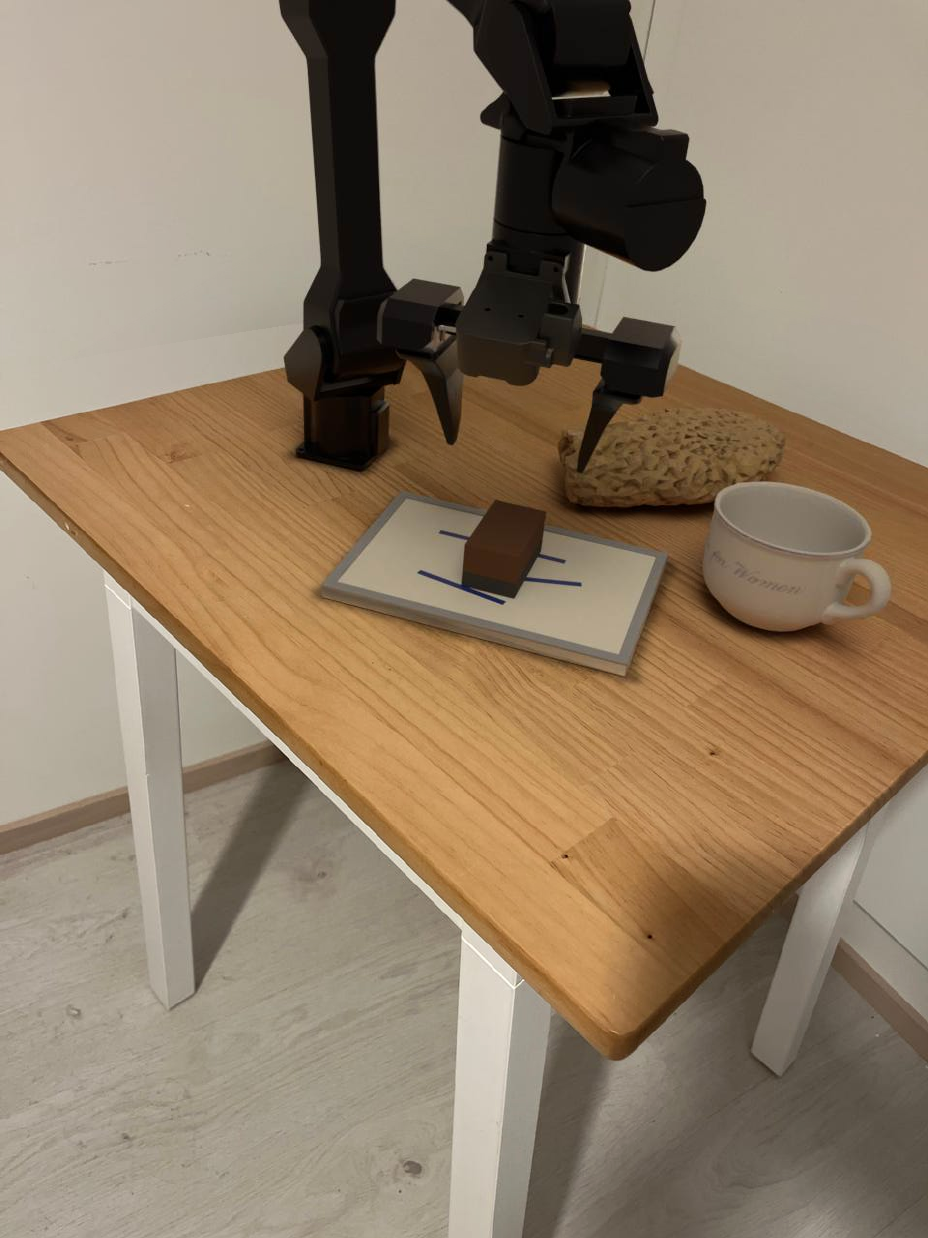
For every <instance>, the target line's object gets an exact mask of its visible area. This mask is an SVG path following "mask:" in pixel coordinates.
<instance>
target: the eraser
mask: <svg viewBox="0 0 928 1238" xmlns="http://www.w3.org/2000/svg"><path fill="white" fill-rule="evenodd" d="M486 511H487V512H486V514H485V515H484V517H483V518H482V520H481V521H480V523H479V524H478V525H477V527H476V528H475V530H474V531H473V533H472V534H471V536H470V537H469V539H468V540H467V542H466V543H465V546H464V558H463V572H462V583H461V585H462V586H466V587H470V588H474V589H478V590H482V591H486V592H490V593H494V594H498V595H502V596H506V597H510V598H515V597H516V595H517V593H518V591H519V589H520V588H521V586H522V584H523V582H524V581H525V579H526V577H527V575H528V573H529V572H530V570H531V568H532V566H533V565H534V563H535V561H536V559H537V557H538V556H539V554H540V552H541V548H542V541H543V534H544V526H545V524H546V518H547V511H546V510H543V509H539V508H535V507H534V508H533V507H529V506H526V505H522V504H521V505H520V504H518V503H517V504H516V503H512V502H507V501H503V500H500V499H494V500H493V502H492V504H491V505H490V506H489V508H488V509H487V510H486Z"/></svg>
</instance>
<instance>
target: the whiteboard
mask: <svg viewBox="0 0 928 1238" xmlns="http://www.w3.org/2000/svg"><path fill="white" fill-rule="evenodd" d="M487 511H488V510H486V509H481V508H476V507H472V506H468V505H465V504H459V503H456V502H452V501H448V500H443V499H439V498H434V497H430V496H426V495H422V494H417V493H413V492H408V491H404V490H400V491H399V492H398V494H397V495H396V496H395V497H394V498H393V499H392V500H391V502H390V503H389V504H388V505H387V507H386V508H384V510H383V511H382V512H381V514H380V515H379V516H378V517H377V518H376V520H375V521H374V522H373V523H372V524H371V525H370V527H368V529H367V530H366V531H365V533H364V534H363V535H362V536H361V537H360V538H359V539H358V540H357V542H356V543H355V544H354V545H353V546H352V547H351V549H350V550H349V551H348V553H346V554H345V556H344V557H343V558H342V559H341V560H340V562H339V563H338V564H337V565H336V566H335V567H334V569H333V570H332V571H331V572H330V573H329V575H328V576H327V577H326V578H325V579H324V581H322V583H321V598H324V599H327V600H332V601H335V602H339V603H341V604H347V605H350V606H355V607H359V608H362V609H366V610H370V611H373V612H376V613H381V614H385V615H389V616H392V617H396V618H400V619H403V620H408V621H412V622H415V623H418V624H423V625H427V626H431V627H434V628H438V629H441V630H445V631H448V632H452V633H457V634H461V635H465V636H468V637H472V638H476V639H479V640H484V641H487V642H491V643H495V644H499V645H503V646H507V647H509V648H514V649H518V650H521V651H525V652H528V653H533V654H537V655H540V656H544V657H548V658H552V659H555V660H559V661H563V662H567V663H571V664H574V665H579V666H583V667H585V668H590V669H594V670H596V671H601V672H605V673H608V674H613V675H616V676H620V677H624V678H625V677H626V676H627V674H628V671H629V669H630V666H631V663H632V660H633V658H634V655H635V653H636V649H637V647H638V644H639V642H640V638H641V636H642V633H643V630H644V628H645V624H646V622H647V619H648V617H649V613H650V611H651V608H652V606H653V602H654V600H655V597H656V594H657V592H658V589H659V587H660V584H661V581H662V578H663V575H664V572H665V570H666V567H667V563H668V560H669V554H670V553H668V552H664V551H661V550H657V549H652V548H648V547H643V546H639V545H635V544H630V543H627V542H622V541H617V540H614V539H609V538H605V537H600V536H597V535H592V534H588V533H583V532H580V531H576V530H572V529H571V530H570V529H566V528H562V527H559V526H558V527H557V526H554V525H550V524H546V523H545V526H544V534H543V541H542V548H541V552H540V554H539V556H538V557H537V559H536V561H535V563H534V565H533V566H532V568H531V570H530V572H529V573H528V575H527V577H526V579H525V581H524V582H523V584H522V586H521V588H520V589H519V591H518V593H517V595H516V597H515V598H510V597H506V596H502V595H498V594H494V593H490V592H486V591H482V590H478V589H474V588H470V587H466V586H462V585H461V583H462V572H463V558H464V546H465V543H466V542H467V540H468V539H469V537H470V536H471V534H472V533H473V531H474V530H475V528H476V527H477V525H478V524H479V523H480V521H481V520H482V518H483V517H484V515H485V514H486V512H487Z"/></svg>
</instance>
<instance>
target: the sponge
mask: <svg viewBox="0 0 928 1238" xmlns="http://www.w3.org/2000/svg"><path fill="white" fill-rule="evenodd" d="M584 432H585V429H566V430H565V429H564V430H561V436H562V437H561V438H560V439H559V440H558V442H557V443H558V444H557V452H558V456H559V461H560V463H561V464H562V465H563V466H564V471H563V473H564V474H563V475H562V476H563V478H564V486H565V494H566V498H567V499H568V500H569V502H570V503H572V504H576V505H577V504H579V505H581V506H588V507H589V506H590V507H602V508H604V507H605V508H607V507H608V508H609V507H610V508H611V507H618V508H632V507H636V506H639V507H640V506H642V505H646V506H647V505H648V506H654V507H657V506H679V505H681V504H683V505H691V506H693V505H703V504H709V503H712V502H715V498H716V496H717V494H718V493H719V492H720V491H722V490H723V489H724V488H726V487H729V486H731V485H735V484H737V483H742V482H763V481H764V480H765V479H767V478H769V476H771V475H772V474H773V473H775V471H776V469H777V468H778V467H779V466H780V464H781V462H782V460H783V458H784V454H785V453H786V452H787V450H785V446H786V434H785V432H784V431H783V430H781V429H779V428H778V427H776V426H775V425H774V424H772V423H770V422H769V421H766V420H763V418H758V417H757V415H754V414H752V413H748V412H743V411H741V410H731V409H724V408H721V407H715V408H712V407H711V408H709V407H687V406H685V407H681V408H665V409H664V411H663V410H660V411H657V412H656V413H655V412H651V413H646V414H644V415H642V416H640V417H638V418H637V419H635V420H633V421H629V420H624V421H613V422H612V421H610V422H609V423H608V425H607V427H606V429H605V431H604V433H603V435H602V437H601V439H600V441H599V443H598V445H597V447H596V448H595V450H594V452H593V454H592V456H591V458H590V460H589V462H588V464H587V466H586V468H585V470H584V471H583V473H582V474H581V473H577V463H578V455H579V450H580V447H581V443H582V440H583V436H584Z"/></svg>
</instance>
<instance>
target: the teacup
mask: <svg viewBox="0 0 928 1238" xmlns="http://www.w3.org/2000/svg"><path fill="white" fill-rule="evenodd" d="M713 509H714V510H713V512H712V513H713V514H712V517H711V521H710V525H709V527H708V532H707V536H706V541H705V544H704V550H703V556H702V576H703V580H704V583H705V585H706V587H707V589H708V590H709V592H710V594H711V595H712V596H713V598H715V599H716V600H717V601H718V603H719V604H720V605H721V607H722V608H723V609H724V610H725V611H726V612H727V613H728V614H729V615H731V616H732V617H734V618H735V619H737V620H738V621H740V622H742V623H744V624H746V625H749V626H751V627H755V628H758V629H761V630H765V631H770V632H780V633H781V632H782V633H783V632H794V631H799V630H802V629H805V628H807V627H810V626H815V625H818V624H820V623H822V624H824V625H834V624H836V623H838V622H839V621H859V620H866V619H869V618H871V617H873V616H876V615H877V614H879V613H881V612H882V611H883V610H884V609H885V608H886V606H887V605H888V603H889V600H890V598H891V596H892V595H891V594H892V583H891V580H890V577H889V574H888V572H887V571H886V569H885V568H883V566H881V564H879V562H875V561H874V560H871V559H867V558H863V556H864V554H865V550H866V548H867V547H868V546H869V544H870V542H871V541H872V535H873V534H872V528H871V526H870V525H869V523H868V521H867V520H866V519H865V517H864V516H863V515H861V514H860V513H859V512H858V511H857V510H855V509H854V508H853V507H851V506H850V505H848V503H847V504H846V503H845V502H843V501H841V500H839V499H838V498H835V497H833V496H832V495H829V494H826V493H824V492H822V491H817V490H814V489H812V488H810V487H809V488H808V487H804V486H800V485H795V484H791V483H785V482H779V481H764V480H762V481H759V482H742V483H737V484H735V485H731V486H729V487H726V488H724V489H723V490H722V491H720V492H719V493H718V494H717V496H716V498H715V501H713ZM856 575H861V576H862V577H864V578H865V579H866V580H867V582H868V584H869V586H870V592H871V594H870V598H869V600H868V601H867V602H866V603H864V604H863V605H854V606H852V605H846V604H845V605H844V602H845V601H846V599H847V597H848V595H849V592H850V590H851V589H852V585H853V583H854V581H855V578H856Z"/></svg>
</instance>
